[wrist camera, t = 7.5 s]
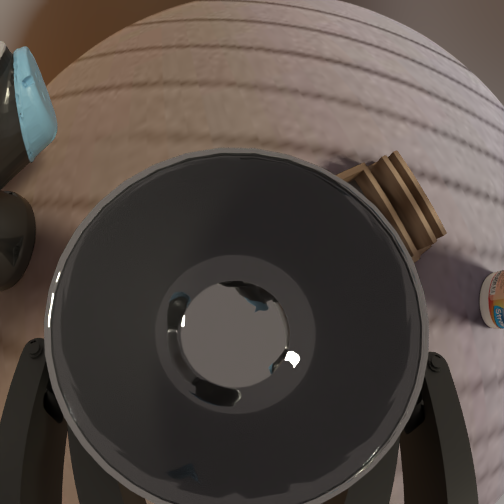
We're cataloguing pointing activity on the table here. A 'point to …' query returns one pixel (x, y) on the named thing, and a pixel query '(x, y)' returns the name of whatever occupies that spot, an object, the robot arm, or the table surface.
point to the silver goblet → (236, 331)
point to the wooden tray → (398, 201)
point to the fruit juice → (493, 300)
